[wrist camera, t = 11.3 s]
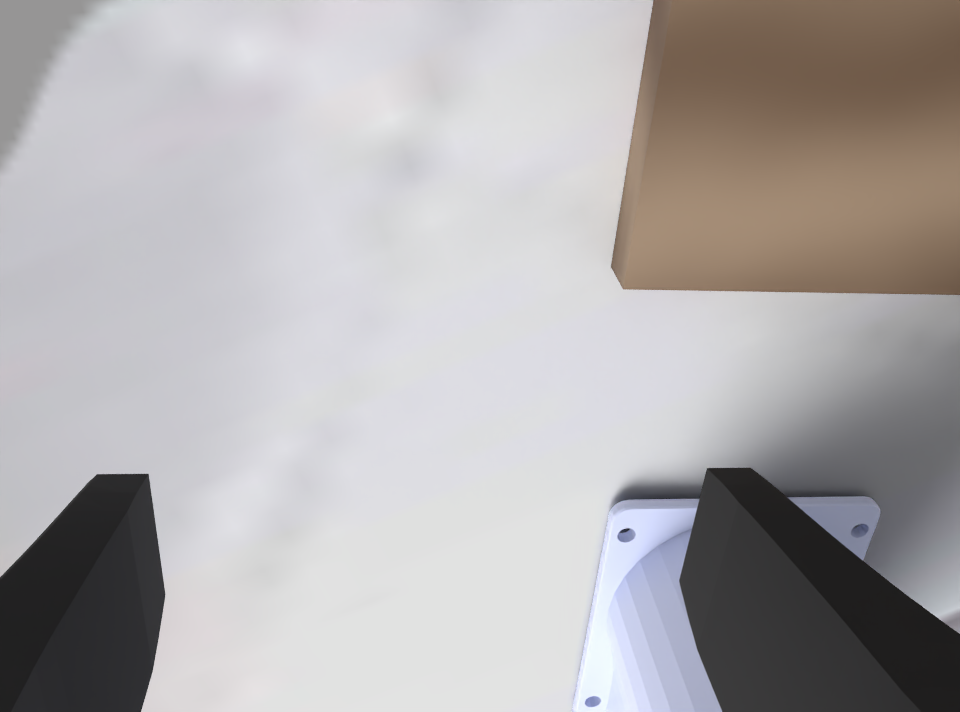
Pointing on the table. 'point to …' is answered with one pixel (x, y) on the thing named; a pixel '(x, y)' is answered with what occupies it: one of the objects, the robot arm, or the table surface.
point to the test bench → (795, 149)
